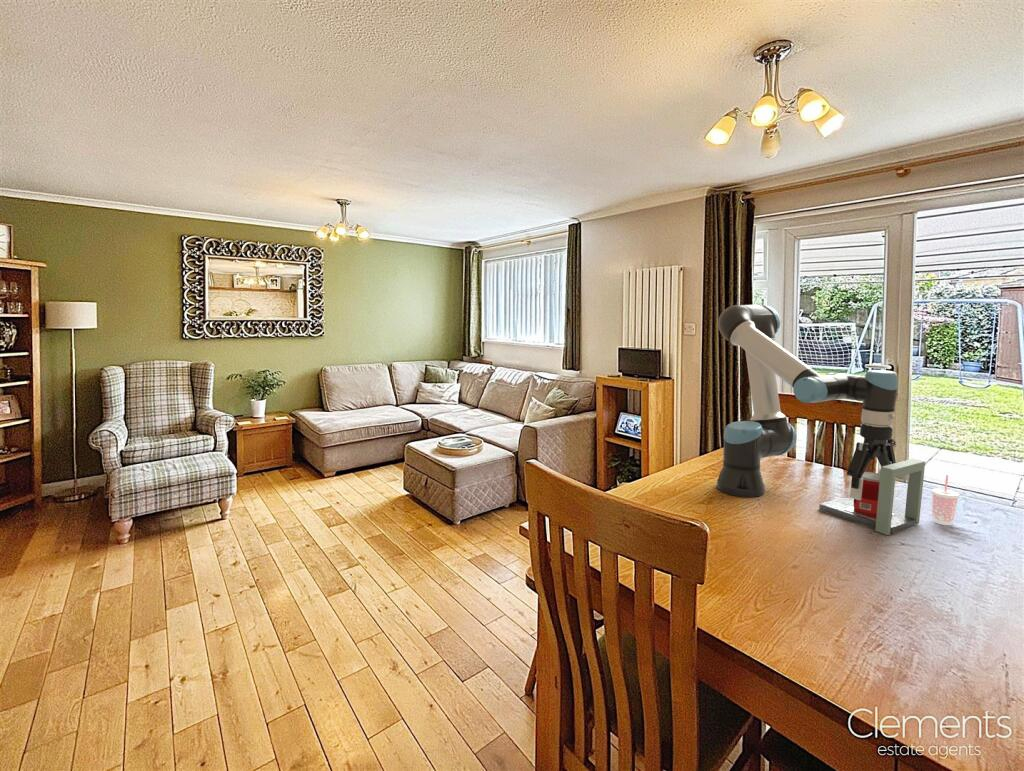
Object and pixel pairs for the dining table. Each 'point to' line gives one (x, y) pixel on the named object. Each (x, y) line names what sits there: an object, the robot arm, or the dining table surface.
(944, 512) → the beverage cup
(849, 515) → the plate
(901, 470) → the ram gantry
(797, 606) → the dining table surface
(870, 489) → the canned food
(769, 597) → the dining table surface
